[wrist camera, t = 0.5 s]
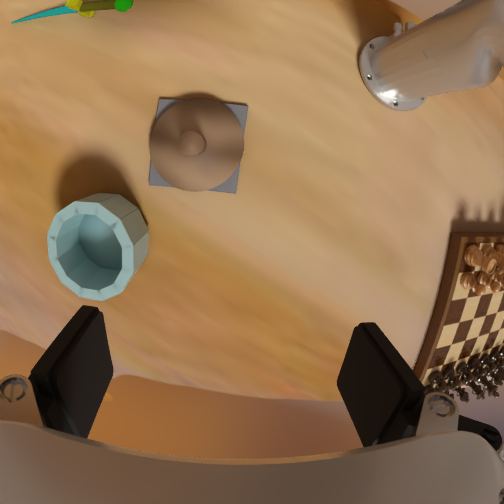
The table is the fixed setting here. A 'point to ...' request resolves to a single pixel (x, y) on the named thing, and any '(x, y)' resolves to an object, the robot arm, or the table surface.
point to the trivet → (231, 182)
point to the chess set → (467, 319)
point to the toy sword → (83, 8)
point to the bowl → (98, 245)
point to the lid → (196, 144)
